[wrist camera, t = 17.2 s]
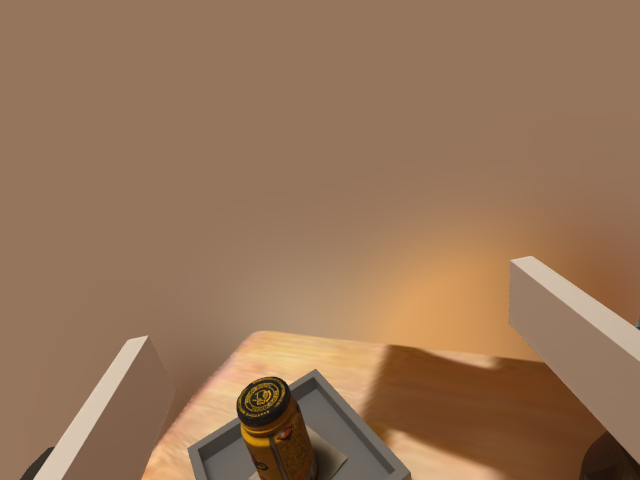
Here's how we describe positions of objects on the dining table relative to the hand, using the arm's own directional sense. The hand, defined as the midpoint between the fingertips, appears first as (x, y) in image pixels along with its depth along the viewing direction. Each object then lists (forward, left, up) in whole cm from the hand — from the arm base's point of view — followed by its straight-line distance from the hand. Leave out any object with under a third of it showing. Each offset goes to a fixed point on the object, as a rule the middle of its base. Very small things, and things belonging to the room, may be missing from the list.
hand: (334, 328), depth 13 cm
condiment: (0, -17, -29) cm, 34 cm away
